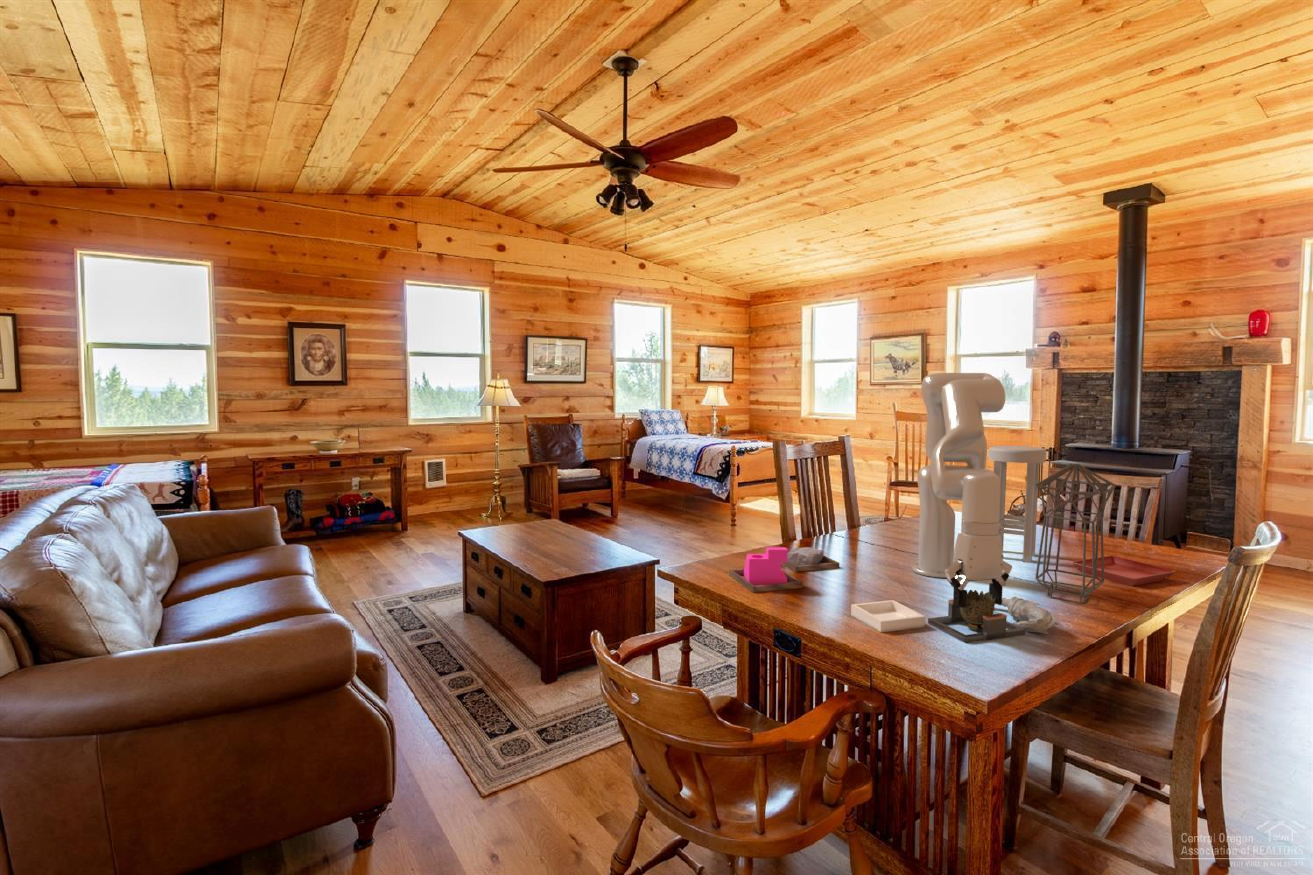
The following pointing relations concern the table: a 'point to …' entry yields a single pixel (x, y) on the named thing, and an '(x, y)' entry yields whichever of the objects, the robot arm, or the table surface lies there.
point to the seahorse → (1029, 614)
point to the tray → (887, 616)
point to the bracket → (766, 567)
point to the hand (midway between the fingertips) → (977, 604)
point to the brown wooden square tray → (770, 587)
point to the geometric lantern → (1098, 515)
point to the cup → (977, 609)
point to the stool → (1032, 459)
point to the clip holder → (991, 626)
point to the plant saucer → (1125, 570)
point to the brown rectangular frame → (828, 565)
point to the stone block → (805, 556)
